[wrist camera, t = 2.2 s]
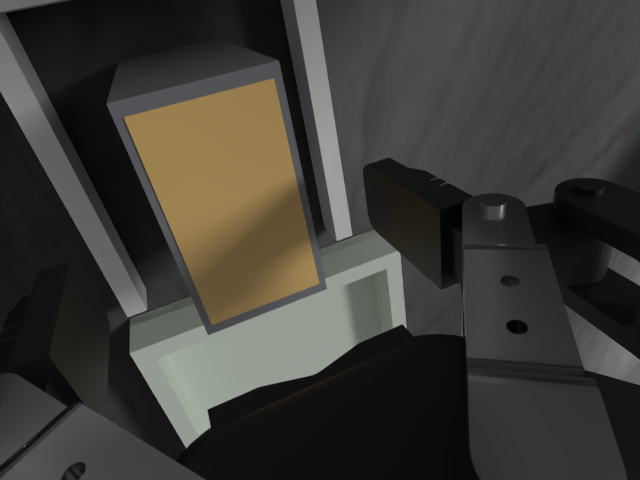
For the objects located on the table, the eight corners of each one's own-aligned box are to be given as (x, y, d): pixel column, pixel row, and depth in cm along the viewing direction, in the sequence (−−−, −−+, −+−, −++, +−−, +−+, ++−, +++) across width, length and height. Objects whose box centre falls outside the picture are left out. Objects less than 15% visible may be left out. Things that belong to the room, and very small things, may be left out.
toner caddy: (218, 37, 20) (279, 60, 11) (260, 192, 24) (327, 289, 16) (118, 60, 19) (106, 103, 10) (181, 217, 23) (208, 336, 15)
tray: (376, 228, 28) (399, 249, 25) (398, 413, 39) (416, 440, 36) (130, 318, 24) (129, 353, 22) (228, 494, 35) (236, 531, 33)
